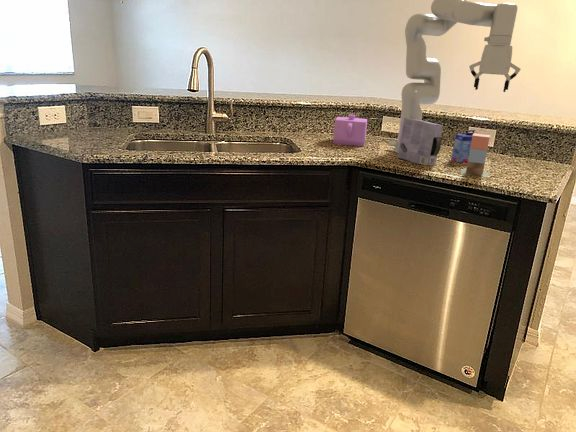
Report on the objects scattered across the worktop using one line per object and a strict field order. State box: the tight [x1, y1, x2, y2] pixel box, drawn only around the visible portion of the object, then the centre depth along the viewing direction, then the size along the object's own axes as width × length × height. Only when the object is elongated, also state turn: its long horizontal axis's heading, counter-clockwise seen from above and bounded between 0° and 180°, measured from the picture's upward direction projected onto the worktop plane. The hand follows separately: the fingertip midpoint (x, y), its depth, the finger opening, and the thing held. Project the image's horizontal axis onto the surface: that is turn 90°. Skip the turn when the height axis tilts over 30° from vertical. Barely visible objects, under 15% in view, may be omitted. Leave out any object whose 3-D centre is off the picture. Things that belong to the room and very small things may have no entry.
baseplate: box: [460, 169, 489, 178], centre depth 185 cm, size 10×7×1 cm
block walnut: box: [465, 162, 486, 177], centre depth 183 cm, size 6×6×5 cm
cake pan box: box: [397, 118, 444, 166], centre depth 199 cm, size 19×5×18 cm, turn 32°
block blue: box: [468, 148, 489, 164], centre depth 181 cm, size 6×6×5 cm
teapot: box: [332, 113, 368, 147], centre depth 236 cm, size 15×25×14 cm, turn 169°
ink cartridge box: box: [450, 129, 476, 163], centre depth 204 cm, size 10×6×14 cm, turn 111°
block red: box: [470, 132, 491, 152], centre depth 180 cm, size 6×6×5 cm
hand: (490, 90), depth 173 cm, fingers open, 9 cm apart
